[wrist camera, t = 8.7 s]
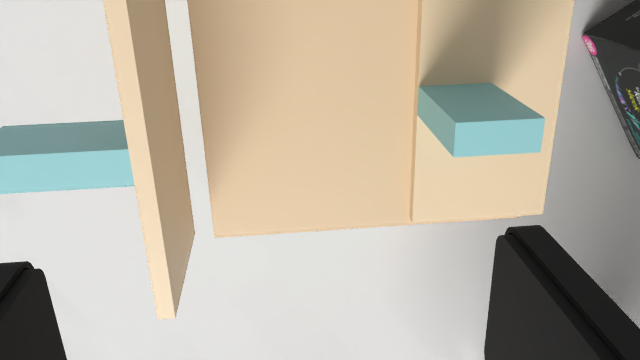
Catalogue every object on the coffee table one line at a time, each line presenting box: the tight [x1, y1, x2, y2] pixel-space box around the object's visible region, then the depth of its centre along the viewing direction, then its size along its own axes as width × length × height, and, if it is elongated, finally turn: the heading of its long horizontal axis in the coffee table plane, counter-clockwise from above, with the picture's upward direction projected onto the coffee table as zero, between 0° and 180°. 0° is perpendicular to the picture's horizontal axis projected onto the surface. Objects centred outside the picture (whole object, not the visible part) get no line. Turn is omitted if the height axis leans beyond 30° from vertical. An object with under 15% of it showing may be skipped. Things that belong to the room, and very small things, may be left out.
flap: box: [0, 0, 195, 320], centre depth 20 cm, size 11×6×5 cm
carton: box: [187, 0, 574, 238], centre depth 26 cm, size 12×15×17 cm
